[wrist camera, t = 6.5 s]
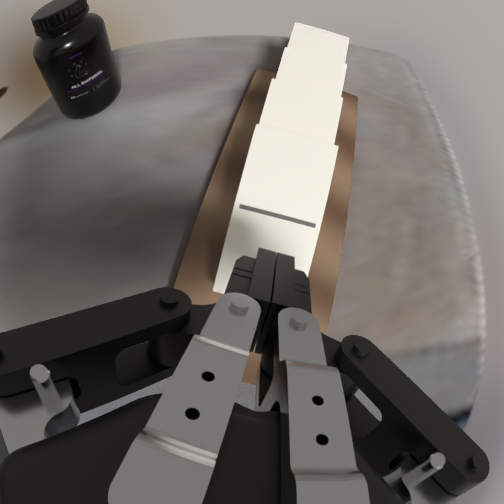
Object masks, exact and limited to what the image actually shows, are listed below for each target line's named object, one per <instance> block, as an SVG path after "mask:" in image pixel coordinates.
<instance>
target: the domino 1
mask: <svg viewBox="0 0 504 504" xmlns="http://www.w3.org/2000/svg"><path fill="white" fill-rule="evenodd" d="M338 147H339V146H336V145H333V144H330V143H327V142H323V141H320V140H317V139H313V138H310V137H306V136H303V135H299V134H296V133H292V132H288V131H284V130H280V129H276V128H272V127H268V126H264V125H260V124H256V127H255V130H254V134H253V137H252V141H251V145H250V148H249V152H248V156H247V159H246V163H245V166H244V170H243V174H242V178H241V181H240V185H239V189H238V193H237V196H236V200H235V204H234V208H233V212H232V215H231V219H230V223H229V227H228V231H227V235H226V239H225V243H224V247H223V251H222V255H221V259H220V263H219V267H218V271H217V275H216V279H215V283H214V287H213V291H214V292H218V293H222V294H224V293H225V290H226V287H227V284H228V281H229V279H230V276H231V273H232V270H233V268H234V265H235V262H236V260H237V259H238V258H240V257H242V256H243V255H244V256H248V257H252V258H255V259H256V256H257V252H258V249H259V247H260V248H264V249H267V250H271V251H275V252H276V254H277V252H279V253H282V254H286V255H290V256H293V257H295V269H297V270H300V271H304V272H305V274H306V275H307V277H308V274H309V270H310V266H311V262H312V259H313V255H314V251H315V247H316V243H317V239H318V235H319V231H320V227H321V223H322V219H323V215H324V211H325V207H326V202H327V198H328V194H329V189H330V185H331V180H332V176H333V171H334V166H335V162H336V157H337V152H338Z"/></svg>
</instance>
